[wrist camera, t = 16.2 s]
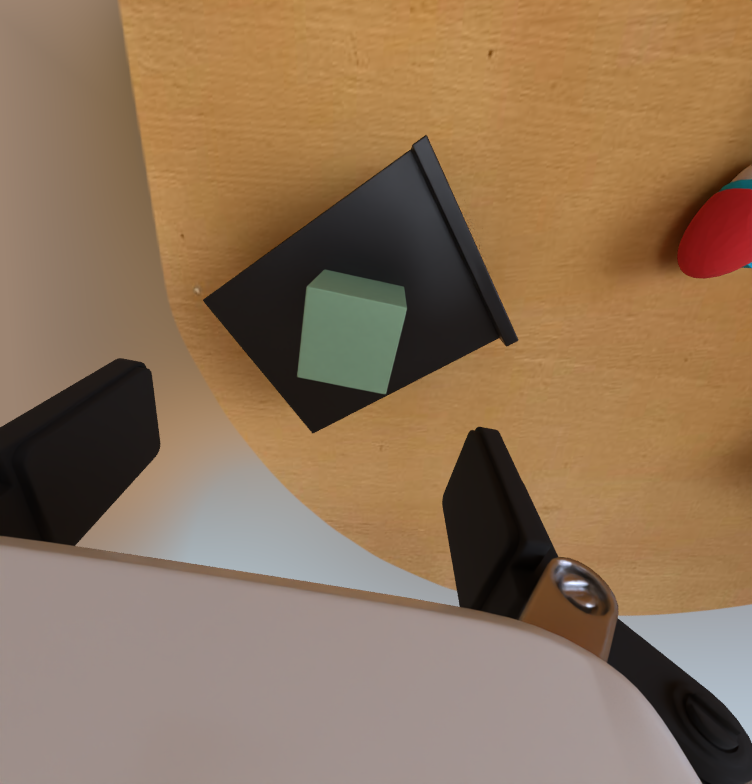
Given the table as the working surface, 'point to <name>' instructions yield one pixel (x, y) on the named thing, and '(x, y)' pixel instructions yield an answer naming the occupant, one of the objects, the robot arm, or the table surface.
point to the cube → (351, 331)
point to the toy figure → (720, 232)
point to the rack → (376, 262)
